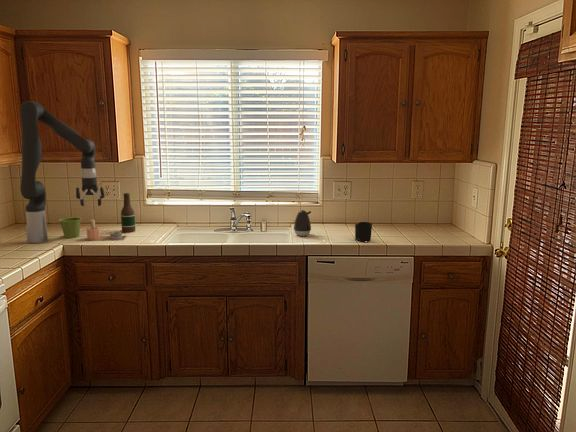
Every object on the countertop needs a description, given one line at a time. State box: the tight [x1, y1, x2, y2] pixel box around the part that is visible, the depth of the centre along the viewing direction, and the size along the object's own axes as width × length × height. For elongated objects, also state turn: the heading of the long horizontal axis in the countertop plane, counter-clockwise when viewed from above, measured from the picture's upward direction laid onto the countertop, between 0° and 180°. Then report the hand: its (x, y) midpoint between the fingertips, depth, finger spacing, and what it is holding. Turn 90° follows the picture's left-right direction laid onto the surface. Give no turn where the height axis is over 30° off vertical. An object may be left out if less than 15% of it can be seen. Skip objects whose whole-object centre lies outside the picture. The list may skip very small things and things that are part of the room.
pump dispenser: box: [293, 209, 312, 237], centre depth 271 cm, size 10×10×15 cm
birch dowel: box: [89, 219, 96, 229], centre depth 254 cm, size 2×2×10 cm
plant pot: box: [58, 216, 83, 239], centre depth 259 cm, size 12×12×11 cm
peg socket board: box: [83, 231, 128, 242], centre depth 256 cm, size 21×11×4 cm, turn 98°
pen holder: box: [354, 221, 373, 243], centre depth 260 cm, size 9×9×10 cm
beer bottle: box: [120, 192, 136, 234], centre depth 272 cm, size 8×8×24 cm
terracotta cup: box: [86, 226, 101, 240], centre depth 255 cm, size 6×6×6 cm
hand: (91, 205), depth 252 cm, fingers open, 8 cm apart
